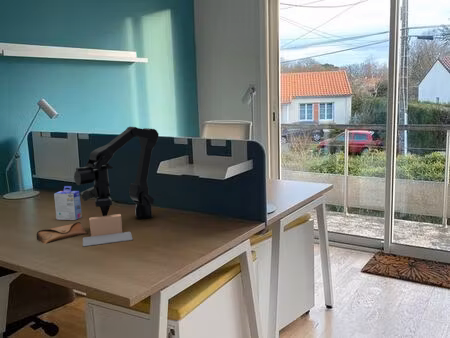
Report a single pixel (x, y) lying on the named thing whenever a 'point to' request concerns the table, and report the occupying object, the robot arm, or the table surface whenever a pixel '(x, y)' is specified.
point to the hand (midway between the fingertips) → (104, 217)
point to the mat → (107, 239)
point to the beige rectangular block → (105, 225)
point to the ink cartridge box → (67, 204)
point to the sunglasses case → (60, 233)
